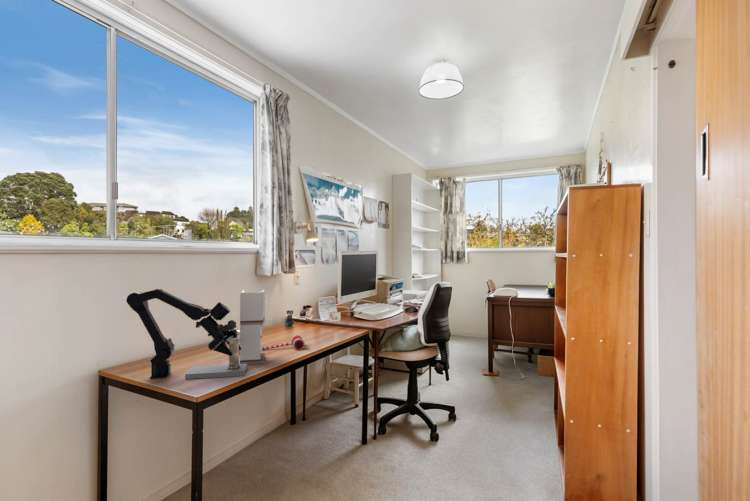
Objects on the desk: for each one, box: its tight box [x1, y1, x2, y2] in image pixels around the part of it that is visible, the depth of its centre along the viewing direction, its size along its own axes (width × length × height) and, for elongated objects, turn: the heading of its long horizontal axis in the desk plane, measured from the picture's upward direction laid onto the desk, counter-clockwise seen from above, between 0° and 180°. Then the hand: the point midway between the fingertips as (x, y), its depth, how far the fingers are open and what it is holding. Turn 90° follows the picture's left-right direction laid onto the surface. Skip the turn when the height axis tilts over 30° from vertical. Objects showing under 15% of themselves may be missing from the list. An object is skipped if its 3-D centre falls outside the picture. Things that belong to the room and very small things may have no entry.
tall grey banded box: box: [239, 289, 266, 365], centre depth 186 cm, size 11×11×35 cm
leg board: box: [184, 363, 248, 380], centre depth 167 cm, size 24×11×2 cm, turn 101°
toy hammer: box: [261, 334, 306, 352], centre depth 209 cm, size 23×12×6 cm, turn 109°
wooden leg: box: [228, 338, 240, 370], centre depth 168 cm, size 4×4×15 cm
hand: (236, 352), depth 168 cm, fingers open, 9 cm apart
